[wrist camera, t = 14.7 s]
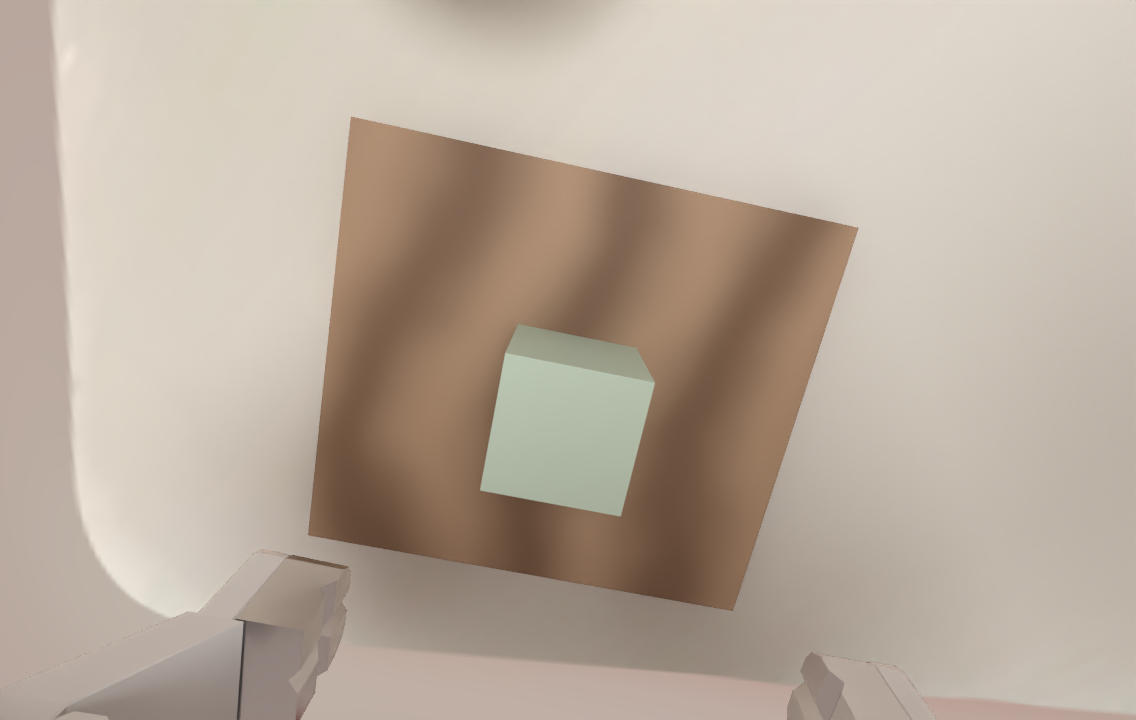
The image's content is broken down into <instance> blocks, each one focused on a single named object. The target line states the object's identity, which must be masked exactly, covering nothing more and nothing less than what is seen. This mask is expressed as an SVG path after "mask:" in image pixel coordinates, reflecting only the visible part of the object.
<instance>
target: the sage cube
mask: <svg viewBox="0 0 1136 720" xmlns="http://www.w3.org/2000/svg"><path fill="white" fill-rule="evenodd" d="M654 385H655V382H654V380H653V378H652V376H651V374H650V372H649V370H648V369H647V367H646V365H645V363H644V361H643V359H642V357H641V355H640V354H639V352H638V350H637V348H635V347H630V346H625V345H620V344H615V343H610V342H605V341H600V340H595V339H590V338H585V337H580V336H575V335H570V334H565V333H561V332H556V331H551V330H546V329H541V328H536V327H531V326H526V325H521V324H518V325H517V327H516V330H515V332H514V334H513V336H512V339H511V341H510V343H509V345H508V348H507V350H506V352H505V357H504V362H503V368H502V373H501V378H500V384H499V389H498V395H497V400H496V406H495V411H494V416H493V422H492V427H491V433H490V438H489V444H488V449H487V454H486V460H485V465H484V471H483V476H482V482H481V487H480V491H486V492H491V493H496V494H502V495H507V496H513V497H518V498H523V499H529V500H534V501H540V502H545V503H550V504H556V505H561V506H567V507H572V508H577V509H583V510H588V511H594V512H599V513H604V514H610V515H615V516H621V513H622V510H623V506H624V502H625V498H626V494H627V490H628V486H629V482H630V478H631V474H632V471H633V467H634V463H635V459H636V455H637V451H638V447H639V443H640V439H641V436H642V432H643V428H644V424H645V420H646V416H647V412H648V408H649V404H650V400H651V397H652V393H653V389H654Z"/></svg>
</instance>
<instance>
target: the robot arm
mask: <svg viewBox="0 0 1136 720" xmlns="http://www.w3.org/2000/svg"><path fill="white" fill-rule="evenodd" d="M350 576H351V570H350V569H349V567H347V566H343V565H338V564H333V563H328V562H323V561H319V560H314V559H309V558H304V557H299V556H295V555H288V554H283V553H278V552H273V551H268V550H260V551H258V552H256V553H254V554H253V555H252V556H251V557H250V558H249V559H248V561H247V562H246V563H245V564H244V565H243V566H242V567H241V568H240V569H239V570H238V571H237V572H236V573H235V574H234V575H233V576H232V577H231V579H230V580H229V581H228V582H227V583H226V584H225V585H224V586H223V587H222V588H221V589H220V590H219V591H218V592H217V593H216V594H215V595H214V596H213V598H212V599H211V600H210V601H209V602H208V603H207V604H206V605H205V606H204V607H203V608H202V609H201V610H200V611H199V612H198V613H194V612H186V613H184V614H181V615H179V616H176V617H174V618H171V619H169V620H167V621H164V622H162V623H159V624H157V625H154V626H152V627H150V628H147V629H145V630H142V631H140V632H138V633H135V634H133V635H130V636H128V637H125V638H123V639H120V640H118V641H116V642H113V643H111V644H108V645H106V646H103V647H101V648H99V649H96V650H94V651H91V652H89V653H86V654H84V655H82V656H79V657H77V658H74V659H72V660H69V661H67V662H64V663H62V664H60V665H57V666H55V667H52V668H50V669H47V670H45V671H43V672H40V673H38V674H35V675H33V676H30V677H28V678H25V679H23V680H21V681H18V682H16V683H13V684H11V685H8V686H6V687H4V688H1V689H0V720H300V719H301V717H302V715H303V713H304V712H305V710H306V708H307V706H308V704H309V703H310V701H311V699H312V697H313V695H314V693H315V685H316V677H317V676H318V675H320V674H321V673H323V672H325V671H326V670H327V669H328V667H329V665H330V664H331V662H332V660H333V658H334V656H335V653H336V650H337V648H338V645H339V643H340V640H341V637H342V633H343V629H344V625H345V619H346V612H347V610H346V608H345V606H344V605H343V603H342V600H343V598H344V596H345V595H346V593H347V591H348V590H349V587H350ZM801 673H802V675H803V678H804V680H805V683H803V684H802V685H800V686H799V687H798V688H796V689H795V690H793V692H792V695H791V698H790V701H789V704H788V709H787V710H788V712H787V720H938V719H937V718H936V716H935V715H934V714H933V712H932V711H931V709H930V708H929V707H928V705H927V704H926V703H925V701H924V700H923V698H922V697H921V695H920V694H919V693H918V691H917V690H916V689H915V687H914V686H913V684H912V683H911V682H910V680H909V679H908V677H907V676H906V675H905V673H904V672H903V671H901V670H900V669H899V668H897V667H896V666H892V665H886V664H879V663H873V662H862V661H856V660H850V659H845V658H839V657H834V656H828V655H822V654H817V653H811V654H810V655H809V656H808V657H807V658H806V659H805V661H804V663H803V666H802V668H801Z"/></svg>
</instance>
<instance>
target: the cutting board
mask: <svg viewBox="0 0 1136 720" xmlns="http://www.w3.org/2000/svg"><path fill="white" fill-rule="evenodd" d="M857 231H858V228H857V227H852V226H847V225H843V224H838V223H834V222H829V221H825V220H820V219H815V218H811V217H806V216H802V215H797V214H793V213H788V212H783V211H779V210H774V209H770V208H765V207H761V206H756V205H752V204H747V203H742V202H738V201H733V200H729V199H724V198H720V197H715V196H710V195H706V194H701V193H697V192H692V191H688V190H683V189H679V188H674V187H669V186H665V185H660V184H656V183H651V182H647V181H642V180H637V179H633V178H628V177H624V176H619V175H615V174H610V173H606V172H601V171H596V170H592V169H587V168H583V167H578V166H574V165H569V164H564V163H560V162H555V161H551V160H546V159H542V158H537V157H532V156H528V155H523V154H519V153H514V152H510V151H505V150H501V149H496V148H491V147H487V146H482V145H478V144H473V143H469V142H464V141H459V140H455V139H450V138H446V137H441V136H437V135H432V134H428V133H423V132H418V131H414V130H409V129H405V128H400V127H396V126H391V125H386V124H382V123H377V122H373V121H368V120H364V119H359V118H355V117H351V122H350V132H349V141H348V151H347V161H346V171H345V180H344V190H343V200H342V210H341V219H340V229H339V239H338V249H337V259H336V268H335V278H334V288H333V298H332V307H331V317H330V327H329V337H328V346H327V356H326V366H325V376H324V386H323V395H322V405H321V415H320V425H319V434H318V444H317V454H316V464H315V473H314V483H313V493H312V503H311V513H310V522H309V532H308V535H310V536H316V537H321V538H327V539H332V540H338V541H344V542H349V543H355V544H360V545H366V546H372V547H377V548H383V549H389V550H394V551H400V552H405V553H411V554H417V555H422V556H428V557H433V558H439V559H445V560H450V561H456V562H462V563H467V564H473V565H478V566H484V567H490V568H495V569H501V570H507V571H512V572H518V573H523V574H529V575H535V576H540V577H546V578H551V579H557V580H563V581H568V582H574V583H580V584H585V585H591V586H596V587H602V588H608V589H613V590H619V591H625V592H630V593H636V594H641V595H647V596H653V597H658V598H664V599H669V600H675V601H681V602H686V603H692V604H698V605H703V606H709V607H714V608H720V609H726V610H731V611H733V609H734V606H735V603H736V600H737V597H738V594H739V591H740V587H741V584H742V581H743V578H744V575H745V572H746V569H747V566H748V563H749V560H750V557H751V554H752V551H753V548H754V545H755V542H756V539H757V536H758V533H759V530H760V527H761V523H762V520H763V517H764V514H765V511H766V508H767V505H768V502H769V499H770V496H771V493H772V490H773V487H774V484H775V481H776V478H777V475H778V472H779V469H780V466H781V463H782V460H783V456H784V453H785V450H786V447H787V444H788V441H789V438H790V435H791V432H792V429H793V426H794V423H795V420H796V417H797V414H798V411H799V408H800V405H801V402H802V399H803V396H804V392H805V389H806V386H807V383H808V380H809V377H810V374H811V371H812V368H813V365H814V362H815V359H816V356H817V353H818V350H819V347H820V344H821V341H822V338H823V335H824V332H825V328H826V325H827V322H828V319H829V316H830V313H831V310H832V307H833V304H834V301H835V298H836V295H837V292H838V289H839V286H840V283H841V280H842V277H843V274H844V271H845V268H846V264H847V261H848V258H849V255H850V252H851V249H852V246H853V243H854V240H855V237H856V234H857ZM518 324H521V325H526V326H531V327H536V328H541V329H546V330H551V331H556V332H561V333H565V334H570V335H575V336H580V337H585V338H590V339H595V340H600V341H605V342H610V343H615V344H620V345H625V346H630V347H635V348H637V350H638V352H639V354H640V355H641V357H642V359H643V361H644V363H645V365H646V367H647V369H648V370H649V372H650V374H651V376H652V378H653V380H654V382H655V385H654V389H653V393H652V397H651V400H650V404H649V408H648V412H647V416H646V420H645V424H644V428H643V432H642V436H641V439H640V443H639V447H638V451H637V455H636V459H635V463H634V467H633V471H632V474H631V478H630V482H629V486H628V490H627V494H626V498H625V502H624V506H623V510H622V513H621V516H615V515H610V514H604V513H599V512H594V511H588V510H583V509H577V508H572V507H567V506H561V505H556V504H550V503H545V502H540V501H534V500H529V499H523V498H518V497H513V496H507V495H502V494H496V493H491V492H486V491H480V487H481V482H482V476H483V471H484V465H485V460H486V454H487V449H488V444H489V438H490V433H491V427H492V422H493V416H494V411H495V406H496V400H497V395H498V389H499V384H500V378H501V373H502V368H503V362H504V357H505V352H506V350H507V348H508V345H509V343H510V341H511V339H512V336H513V334H514V332H515V330H516V327H517V325H518Z"/></svg>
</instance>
